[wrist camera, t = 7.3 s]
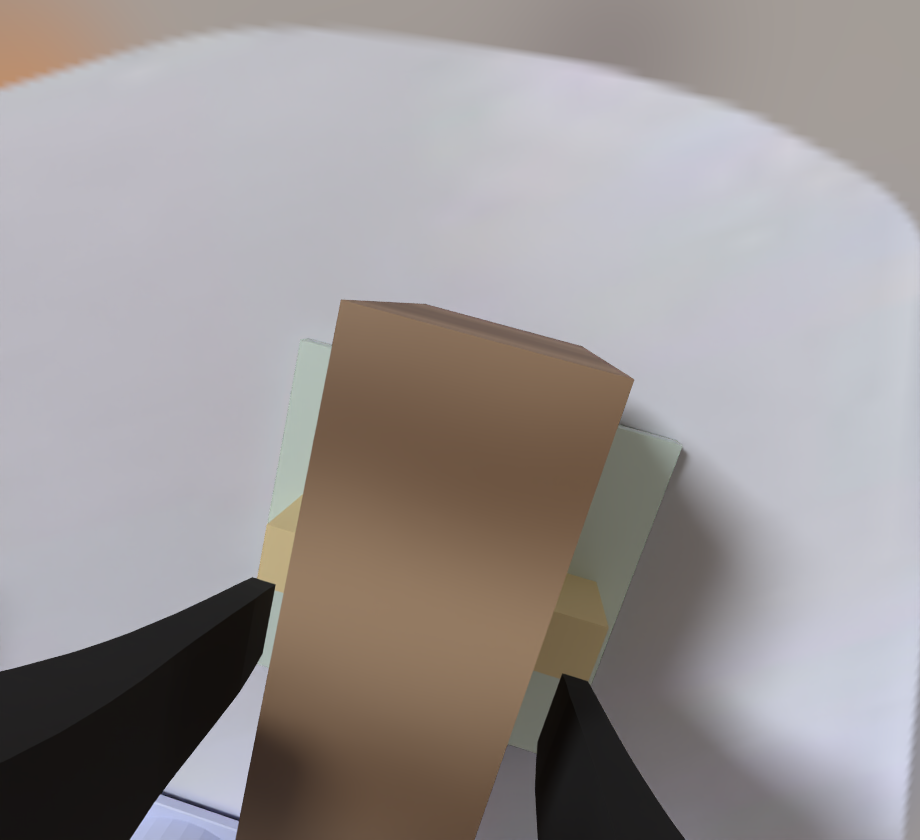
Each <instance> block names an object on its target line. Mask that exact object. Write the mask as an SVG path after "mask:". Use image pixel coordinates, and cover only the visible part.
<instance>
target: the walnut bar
mask: <svg viewBox="0 0 920 840" xmlns="http://www.w3.org/2000/svg"><path fill="white" fill-rule="evenodd" d="M633 382H634V379H633V378H631V377H630V376H628V375H626V374H625V373H623V372H622V371H620V370H619V369H617V368H615V367H614V366H612V365H611V364H609V363H607V362H606V361H604V360H603V359H601V358H600V357H598V356H596V355H595V354H593V353H592V352H590V351H588V350H587V349H585V348H584V347H582V346H579V345H575V344H571V343H568V342H564V341H560V340H556V339H553V338H549V337H545V336H542V335H538V334H534V333H531V332H527V331H523V330H519V329H516V328H512V327H508V326H505V325H501V324H497V323H493V322H490V321H486V320H482V319H479V318H475V317H471V316H468V315H464V314H460V313H456V312H453V311H449V310H445V309H442V308H438V307H434V306H430V305H427V304H414V303H395V302H376V301H357V300H341V302H340V307H339V313H338V318H337V323H336V328H335V333H334V338H333V343H332V348H331V353H330V359H329V364H328V369H327V374H326V379H325V384H324V389H323V394H322V399H321V405H320V410H319V415H318V420H317V425H316V430H315V435H314V440H313V445H312V450H311V456H310V461H309V466H308V471H307V476H306V481H305V486H304V491H303V496H302V502H301V507H300V512H299V517H298V522H297V527H296V532H295V537H294V542H293V548H292V553H291V558H290V563H289V568H288V573H287V578H286V583H285V588H284V594H283V599H282V604H281V609H280V614H279V619H278V624H277V629H276V634H275V639H274V645H273V650H272V655H271V660H270V665H269V670H268V675H267V680H266V685H265V691H264V696H263V701H262V706H261V711H260V716H259V721H258V726H257V731H256V737H255V742H254V747H253V752H252V757H251V762H250V767H249V772H248V777H247V783H246V788H245V793H244V798H243V803H242V808H241V813H240V818H239V823H238V828H237V834H236V839H235V840H474V839H475V837H476V834H477V831H478V828H479V825H480V822H481V819H482V816H483V814H484V811H485V808H486V805H487V802H488V799H489V796H490V793H491V791H492V788H493V785H494V782H495V779H496V776H497V773H498V770H499V767H500V765H501V762H502V759H503V756H504V753H505V750H506V747H507V744H508V742H509V739H510V736H511V733H512V730H513V727H514V724H515V721H516V719H517V716H518V713H519V710H520V707H521V704H522V701H523V698H524V696H525V693H526V690H527V687H528V684H529V681H530V678H531V675H532V673H533V670H534V667H535V664H536V661H537V658H538V655H539V652H540V649H541V647H542V644H543V641H544V638H545V635H546V632H547V629H548V626H549V624H550V621H551V618H552V615H553V612H554V609H555V606H556V603H557V601H558V598H559V595H560V592H561V589H562V586H563V583H564V580H565V578H566V575H567V572H568V569H569V566H570V563H571V560H572V557H573V555H574V552H575V549H576V546H577V543H578V540H579V537H580V534H581V531H582V529H583V526H584V523H585V520H586V517H587V514H588V511H589V508H590V506H591V503H592V500H593V497H594V494H595V491H596V488H597V485H598V483H599V480H600V477H601V474H602V471H603V468H604V465H605V462H606V460H607V457H608V454H609V451H610V448H611V445H612V442H613V439H614V436H615V434H616V431H617V428H618V425H619V422H620V419H621V416H622V413H623V411H624V408H625V405H626V402H627V399H628V396H629V393H630V390H631V388H632V385H633Z"/></svg>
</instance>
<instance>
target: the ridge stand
mask: <svg viewBox="0 0 920 840" xmlns="http://www.w3.org/2000/svg"><path fill="white" fill-rule="evenodd" d="M331 348H332V345H330V344H326V343H323V342H319V341H315V340H312V339H302V340H300V345H299V350H298V356H297V362H296V367H295V373H294V378H293V384H292V390H291V395H290V401H289V406H288V412H287V417H286V423H285V429H284V434H283V440H282V445H281V451H280V457H279V462H278V468H277V473H276V479H275V484H274V490H273V496H272V501H271V507H270V512H269V518H268V524H267V527H266V532H265V538H264V543H263V549H262V555H261V560H260V566H259V571H258V577H257V579H260V580H263V581H266V582H270V583H273V584H276V586H275V591H274V597H273V602H272V607H271V613H270V618H269V623H268V628H267V634H266V639H265V644H264V649H263V654H262V656H261V658H260V659H259V661H258V663H257V664H259V665H262V666H265V667H268V668H269V665H270V660H271V655H272V650H273V645H274V639H275V634H276V629H277V624H278V619H279V614H280V609H281V604H282V599H283V594H284V588H285V583H286V578H287V573H288V568H289V563H290V558H291V553H292V548H293V542H294V537H295V532H296V527H297V522H298V517H299V512H300V507H301V502H302V496H303V491H304V486H305V481H306V476H307V471H308V466H309V461H310V456H311V450H312V445H313V440H314V435H315V430H316V425H317V420H318V415H319V410H320V405H321V399H322V394H323V389H324V384H325V379H326V374H327V369H328V364H329V359H330V353H331ZM681 449H682V445H681V444H680V443H679V442H678V441H676V440H672V439H669V438H665V437H662V436H658V435H654V434H651V433H647V432H644V431H640V430H636V429H633V428H629V427H626V426H622V425H618V428H617V431H616V434H615V436H614V439H613V442H612V445H611V448H610V451H609V454H608V457H607V460H606V462H605V465H604V468H603V471H602V474H601V477H600V480H599V483H598V485H597V488H596V491H595V494H594V497H593V500H592V503H591V506H590V508H589V511H588V514H587V517H586V520H585V523H584V526H583V529H582V531H581V534H580V537H579V540H578V543H577V546H576V549H575V552H574V555H573V557H572V560H571V563H570V566H569V569H568V572H567V575H566V578H565V580H564V583H563V586H562V589H561V592H560V595H559V598H558V601H557V603H556V606H555V609H554V612H553V615H552V618H551V621H550V624H549V626H548V629H547V632H546V635H545V638H544V641H543V644H542V647H541V649H540V652H539V655H538V658H537V661H536V664H535V667H534V670H533V673H532V675H531V678H530V681H529V684H528V687H527V690H526V693H525V696H524V698H523V701H522V704H521V707H520V710H519V713H518V716H517V719H516V721H515V724H514V727H513V730H512V733H511V736H510V739H509V742H508V745H511V746H514V747H518V748H521V749H524V750H527V751H530V752H533V753H536V754H537V741H538V739H539V736H540V733H541V730H542V728H543V725H544V722H545V719H546V717H547V714H548V711H549V708H550V706H551V703H552V700H553V697H554V695H555V692H556V689H557V686H558V684H559V681H560V678H561V675H562V673H563V674H567V675H570V676H573V677H576V678H580V679H583V680H586V681H588V683H589V684H590V686H591V684H592V681H593V679H594V676H595V674H596V671H597V668H598V666H599V663H600V661H601V658H602V655H603V653H604V650H605V647H606V645H607V642H608V640H609V637H610V634H611V632H612V629H613V627H614V624H615V621H616V619H617V616H618V613H619V611H620V608H621V606H622V603H623V600H624V598H625V595H626V593H627V590H628V587H629V585H630V582H631V580H632V577H633V574H634V572H635V569H636V566H637V564H638V561H639V559H640V556H641V553H642V551H643V548H644V546H645V543H646V540H647V538H648V535H649V532H650V530H651V527H652V525H653V522H654V519H655V517H656V514H657V512H658V509H659V506H660V504H661V501H662V499H663V496H664V493H665V491H666V488H667V485H668V483H669V480H670V478H671V475H672V472H673V470H674V467H675V465H676V462H677V459H678V457H679V454H680V451H681Z"/></svg>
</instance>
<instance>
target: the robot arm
mask: <svg viewBox="0 0 920 840" xmlns="http://www.w3.org/2000/svg"><path fill="white" fill-rule="evenodd" d="M275 586H276V584H273V583H270V582H266V581H263V580H260V579H257V578H253V577H252V578H250V579H248V580H245V581H243V582H241V583H239V584H237V585H235V586H233V587H231V588H229V589H227V590H225V591H223V592H221V593H219V594H217V595H214V596H212V597H210V598H208V599H206V600H204V601H202V602H200V603H198V604H195V605H193V606H191V607H189V608H187V609H185V610H183V611H180V612H178V613H176V614H174V615H171V616H169V617H167V618H164V619H162V620H159V621H157V622H155V623H152V624H150V625H147V626H145V627H143V628H140V629H138V630H135V631H133V632H131V633H128V634H125V635H123V636H120V637H117V638H114V639H112V640H109V641H106V642H103V643H100V644H97V645H94V646H91V647H88V648H85V649H82V650H79V651H76V652H72V653H69V654H66V655H62V656H58V657H54V658H51V659H47V660H43V661H40V662H36V663H32V664H29V665H25V666H21V667H17V668H13V669H9V670H5V671H0V840H235V839H236V834H237V828H238V823H239V821H237V820H234V819H231V818H228V817H225V816H223V815H220V814H217V813H214V812H211V811H208V810H205V809H202V808H199V807H196V806H193V805H190V804H187V803H184V802H182V801H179V800H176V799H173V798H170V797H167V796H164V795H161V793H162V792H163V790H164V789H165V787H166V786H167V785H168V783H169V782H170V781H171V779H172V778H173V777H174V776H175V774H176V773H177V772H178V770H179V769H180V768H181V767H182V765H183V764H184V763H185V762H186V760H187V759H188V758H189V756H190V755H191V754H192V753H193V751H194V750H195V749H196V747H197V746H198V745H199V744H200V742H201V741H202V740H203V739H204V737H205V736H206V735H207V733H208V732H209V731H210V730H211V728H212V727H213V726H214V725H215V723H216V722H217V721H218V719H219V718H220V717H221V716H222V714H223V713H224V712H225V710H226V709H227V708H228V707H229V705H230V704H231V703H232V701H233V700H234V699H235V697H236V696H237V695H238V693H239V692H240V690H241V689H242V687H243V686H244V684H245V682H246V681H247V679H248V678H249V676H250V674H251V673H252V671H253V669H254V668H255V666H256V664H257V663H258V661H259V659H260V658H261V656H262V654H263V649H264V644H265V639H266V634H267V628H268V623H269V618H270V613H271V607H272V602H273V597H274V591H275ZM535 797H536V815H537V832H538V840H685V839H684V837H683V836H682V834H681V833H680V832H679V830H678V829H677V828H676V826H675V825H674V824H673V822H672V821H671V819H670V818H669V817H668V815H667V814H666V812H665V811H664V809H663V808H662V806H661V805H660V803H659V802H658V800H657V799H656V797H655V796H654V794H653V793H652V791H651V790H650V788H649V787H648V785H647V784H646V782H645V781H644V779H643V777H642V776H641V774H640V773H639V771H638V769H637V768H636V766H635V764H634V763H633V761H632V759H631V758H630V756H629V754H628V753H627V751H626V749H625V748H624V746H623V744H622V742H621V741H620V739H619V737H618V735H617V734H616V732H615V730H614V728H613V726H612V725H611V723H610V721H609V719H608V717H607V716H606V714H605V712H604V710H603V708H602V706H601V705H600V703H599V701H598V699H597V697H596V695H595V693H594V692H593V690H592V688H591V686H590V684H589V683H588V681H586V680H583V679H580V678H576V677H573V676H570V675H567V674H563V673H562V675H561V678H560V681H559V684H558V686H557V689H556V692H555V695H554V697H553V700H552V703H551V706H550V708H549V711H548V714H547V717H546V719H545V722H544V725H543V728H542V730H541V733H540V736H539V739H538V741H537V757H536V779H535Z"/></svg>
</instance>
